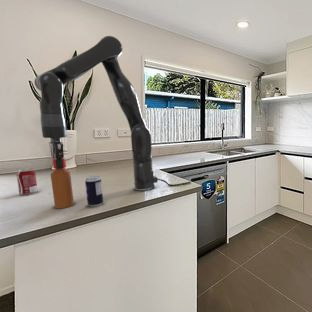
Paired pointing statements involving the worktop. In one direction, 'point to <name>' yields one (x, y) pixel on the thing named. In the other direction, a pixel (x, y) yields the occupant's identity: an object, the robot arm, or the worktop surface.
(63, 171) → the sauce bottle
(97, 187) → the beverage can
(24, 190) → the red food package
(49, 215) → the worktop surface
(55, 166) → the cap
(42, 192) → the worktop surface
